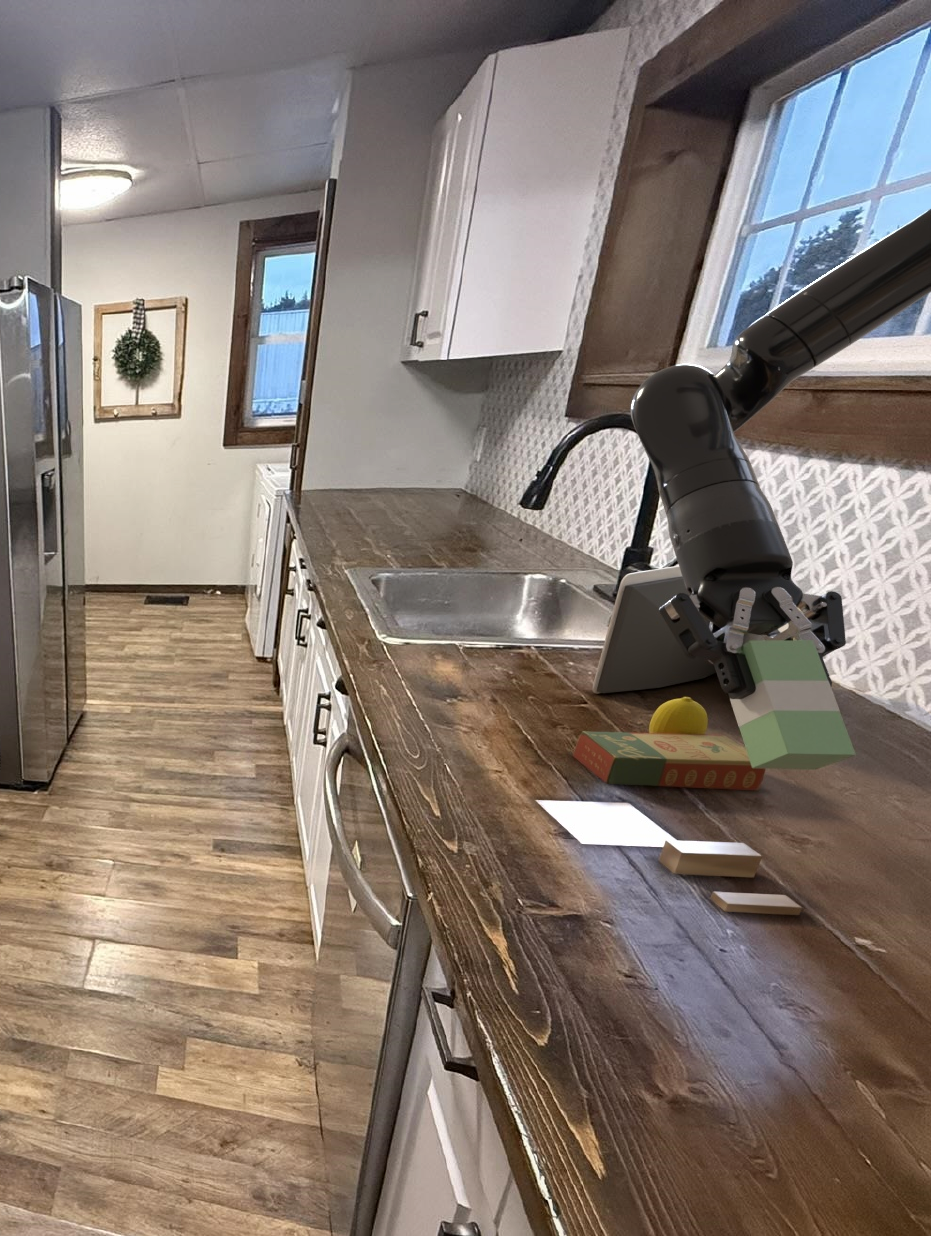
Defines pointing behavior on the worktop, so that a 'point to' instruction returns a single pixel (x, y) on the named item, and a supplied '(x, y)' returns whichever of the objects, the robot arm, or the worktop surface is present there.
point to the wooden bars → (725, 873)
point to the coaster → (606, 823)
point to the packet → (790, 709)
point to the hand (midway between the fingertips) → (779, 695)
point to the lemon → (679, 718)
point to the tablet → (648, 637)
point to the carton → (668, 760)
